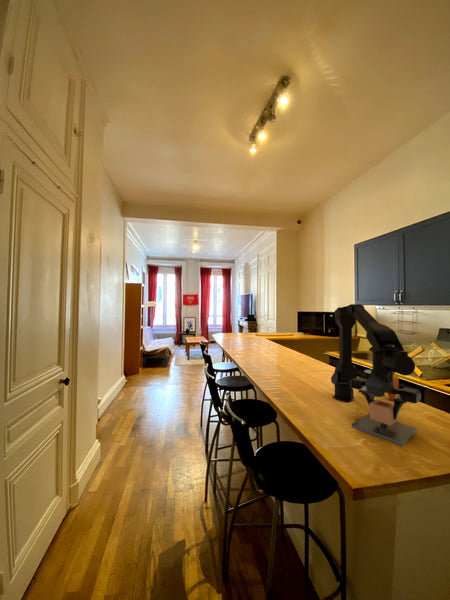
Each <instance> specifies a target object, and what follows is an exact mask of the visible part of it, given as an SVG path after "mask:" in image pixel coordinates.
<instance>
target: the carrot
mask: <svg viewBox="0 0 450 600" xmlns="http://www.w3.org/2000/svg"><path fill="white" fill-rule="evenodd" d="M393 383H394V384H395V386H394V388H396V389H399V376H398V375H397V374H396V373H395V372H394V374H393ZM386 394H387V395H388V396H387V397H388V398H389V400H390V401H391V402H394V400H393V399H395V398H396V395H394V394H390V393H386Z"/></svg>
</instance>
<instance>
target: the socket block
mask: <svg viewBox="0 0 450 600" xmlns="http://www.w3.org/2000/svg"><path fill="white" fill-rule="evenodd" d="M369 413H370V419H372V420H375V421H378V422H381V423H384V424H387V425H390V426H391V425H392V424H394V423H395V422H398V417H397V418H396V419H394V416H393V413H394V402H393V403H392V402H388V401H386V400H385V401H384V400H381V399H377V398H376V399H374V401H373V402H371V403H370V407H369Z"/></svg>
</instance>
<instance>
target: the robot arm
mask: <svg viewBox="0 0 450 600" xmlns="http://www.w3.org/2000/svg"><path fill="white" fill-rule="evenodd" d="M333 315H334V320H335V321H334V322H335V323H336V325H337V326H338V327H339V328H338V329H339V333H338V335H339V337H338V339H339V344H338V346H339V349H338V351H339V352H338V357H339V358H338V359H339V360H338V362H337V363H336V364H335V367H334V372H333V374H332V375H331V377H330V379H331V381H330V382H331V384H332V385H334V396H332V398H333V399H335V400H339V401H341V402H345V403H349V402H352V401H353V400H355V397H354V394H355V393H354V389H355V390H358V392H359V393H361V394H362V395H363V396H364V398H365V399H366V402H367V404H368V407H369V408H370V403H371V402H373V401H374V400H375V396H374V394H375V395H378V396H382V397H384V396H385V394H387V393H390V394H394V395H396V397H395V399H393V404H394V413H393V416H394V419H396V418H397V419H398V416H399V414H400V411H401V408H402V407H403V405H404V404H407V403H411V404H418V402H420V401H421V400H422V393H421V392H420V390H419V389H416V388H415V389H414V388H410V387H403V388H402V389H399V388H398V389H396V388H394V386H395V384H394V383H393V374H398V375H401V376H403V377H404V376H410V375H412V374H413V373H414V371H415V369H416V363H415V361H414V359H413V358H412V357H411V356H409V353H408V351H405V349H404V345H403V344H402V343H401V342H400V339H399V337H398V336H397V333H396V331H394V330H393V329H392V328H391V327H389V326H387V325H385V324H382V323H380V322H379V321H378V320H377V319H376V318H375V317H374V316H372V315H371V313H369V311H367V310H366V308H365V306H364V305H363V304H360V303H358V304H357V303H353V304H352V303H351V304H349V305H347V306H342V307H341V306H340V307H337V308H336V309H335V310H334V312H333ZM356 323H358V324H359V325H360V326H361V327H362V329H363V330H364V331H365V332H366V335H365V337H366V339H367V341H368V342H369V344H370V345H371V347H369V348H368V351H369V352H371V353H372V354H371V355H372V357H371V358H372V361H371V363H372V369H370V370H371V376H370V377H369V378H368V379H365V378H363V377H361V378H359V377H360V376H359V377H358V368H357V367H355V365H354V363H353V328H354V326H355V324H356ZM394 372H395V373H394ZM378 396H377V397H378Z"/></svg>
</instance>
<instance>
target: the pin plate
mask: <svg viewBox="0 0 450 600" xmlns="http://www.w3.org/2000/svg"><path fill="white" fill-rule="evenodd" d="M351 428H353V429H355V430H358V431H360V432H364V433H366V434H369V435H371V436H374V437H376V438H380V439H383V440H385V441H387V442H390V443H393V444H396V445H398V446H402V447H404V446H405V444H407V443H408V441H409V440H410V439H411V438H412V437H414V435H415V434H416V433H417V431H418V430H417V429H418V428H417V427H415V426H412V425H409V424H406V423H402V422H399V421H396V422H395V423H394V424H392V425H391V426H390V425H387V424H384V423H381V422H378V421H375V420H372V419H370V412H369V413H367V414H366V415H364V416H363V417H361V418H360V419H358V420H356V421H355V422H353V423H351Z"/></svg>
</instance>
